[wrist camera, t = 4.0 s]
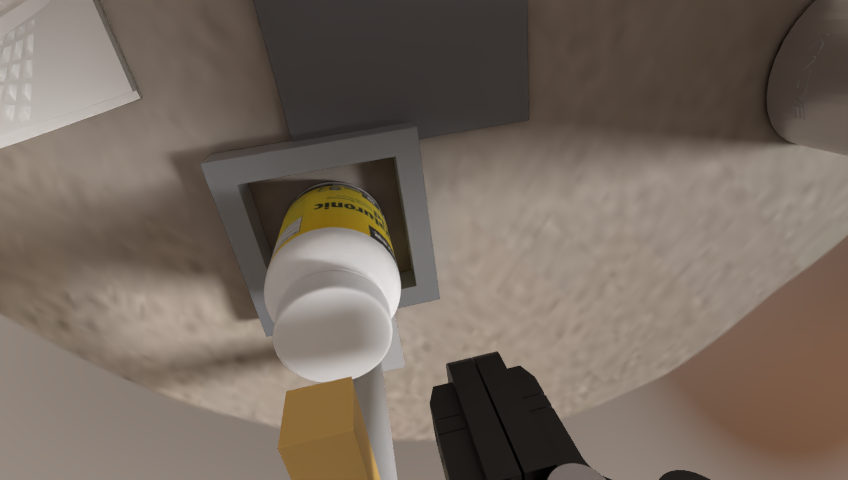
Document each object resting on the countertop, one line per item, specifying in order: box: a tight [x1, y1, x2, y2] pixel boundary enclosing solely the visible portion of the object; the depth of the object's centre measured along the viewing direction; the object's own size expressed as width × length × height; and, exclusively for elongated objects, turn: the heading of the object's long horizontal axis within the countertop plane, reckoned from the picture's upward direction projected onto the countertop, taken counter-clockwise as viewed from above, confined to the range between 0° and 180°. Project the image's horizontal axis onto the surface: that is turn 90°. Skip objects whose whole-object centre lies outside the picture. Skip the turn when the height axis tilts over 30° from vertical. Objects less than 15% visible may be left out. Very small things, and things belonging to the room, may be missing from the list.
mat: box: [253, 0, 529, 142], centre depth 18 cm, size 12×12×1 cm
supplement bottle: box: [264, 182, 401, 383], centre depth 18 cm, size 5×5×10 cm
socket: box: [200, 122, 440, 480], centre depth 18 cm, size 10×15×13 cm, turn 8°
